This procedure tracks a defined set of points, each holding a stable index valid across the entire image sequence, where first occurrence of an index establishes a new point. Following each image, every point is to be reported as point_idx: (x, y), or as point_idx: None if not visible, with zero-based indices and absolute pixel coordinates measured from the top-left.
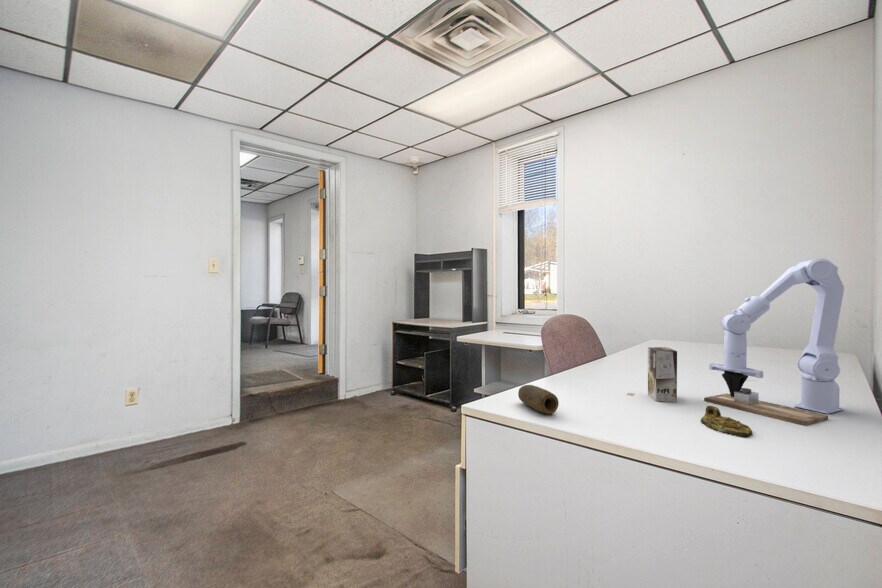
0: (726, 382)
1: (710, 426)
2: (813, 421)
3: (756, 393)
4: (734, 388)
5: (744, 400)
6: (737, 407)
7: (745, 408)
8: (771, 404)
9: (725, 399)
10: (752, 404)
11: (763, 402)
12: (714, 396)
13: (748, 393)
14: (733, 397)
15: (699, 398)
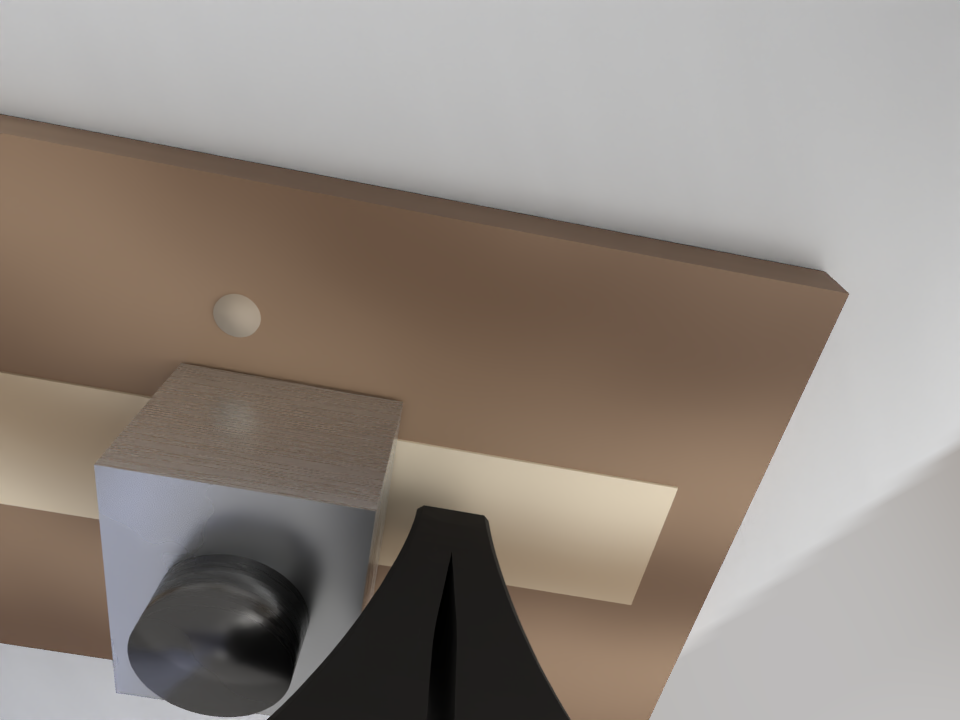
0: (554, 706)
1: None
2: None
3: (112, 648)
4: (393, 605)
5: (225, 403)
6: (262, 169)
7: (123, 151)
8: (74, 605)
9: (545, 438)
10: None
11: None
12: (723, 492)
13: (161, 555)
14: None
15: (913, 370)
